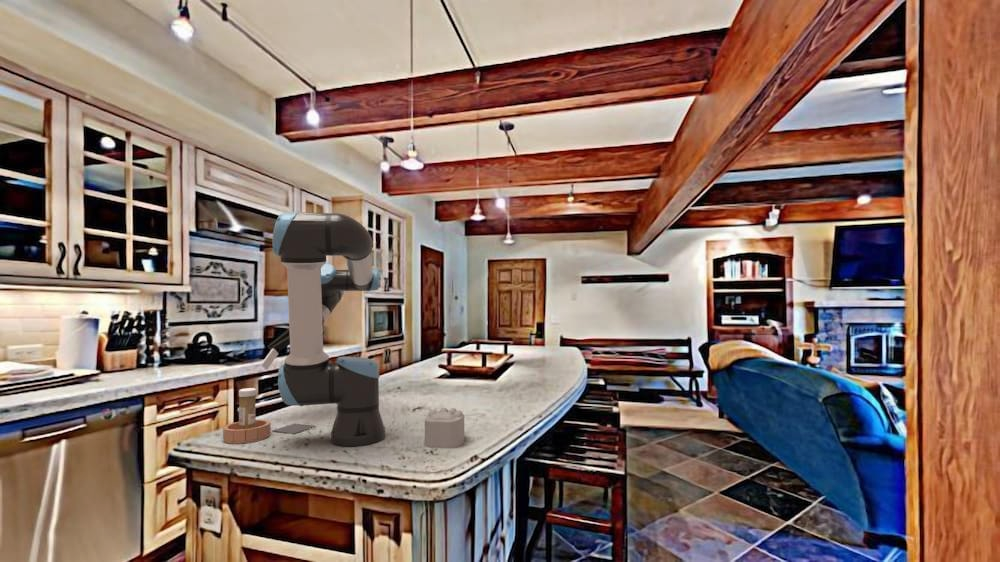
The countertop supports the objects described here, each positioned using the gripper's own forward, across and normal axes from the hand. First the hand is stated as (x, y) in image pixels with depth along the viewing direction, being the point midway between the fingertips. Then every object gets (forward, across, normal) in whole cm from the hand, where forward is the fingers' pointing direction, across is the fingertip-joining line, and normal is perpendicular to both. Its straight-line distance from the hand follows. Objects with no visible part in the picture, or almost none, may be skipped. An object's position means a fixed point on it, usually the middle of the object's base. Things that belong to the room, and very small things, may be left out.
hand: (280, 367), depth 151 cm
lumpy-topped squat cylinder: (+11, -57, -17) cm, 60 cm away
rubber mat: (+13, -6, -14) cm, 20 cm away
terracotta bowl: (+22, 0, -5) cm, 22 cm away
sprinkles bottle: (+21, +1, -5) cm, 22 cm away
